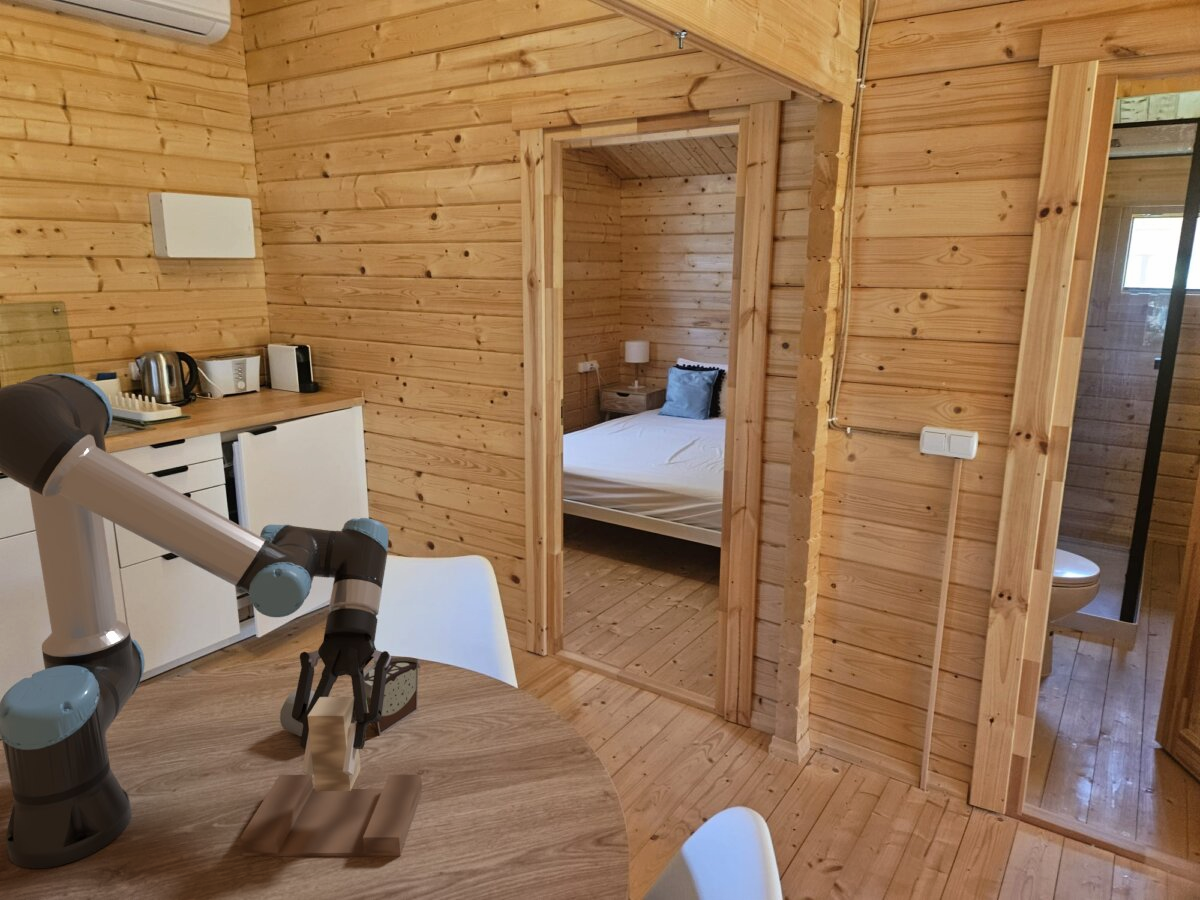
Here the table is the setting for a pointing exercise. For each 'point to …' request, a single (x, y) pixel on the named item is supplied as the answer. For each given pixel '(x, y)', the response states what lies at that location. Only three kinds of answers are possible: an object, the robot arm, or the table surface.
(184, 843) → the table surface
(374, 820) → the cradle
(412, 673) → the food container
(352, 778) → the tall wooden block
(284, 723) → the ceramic mug
